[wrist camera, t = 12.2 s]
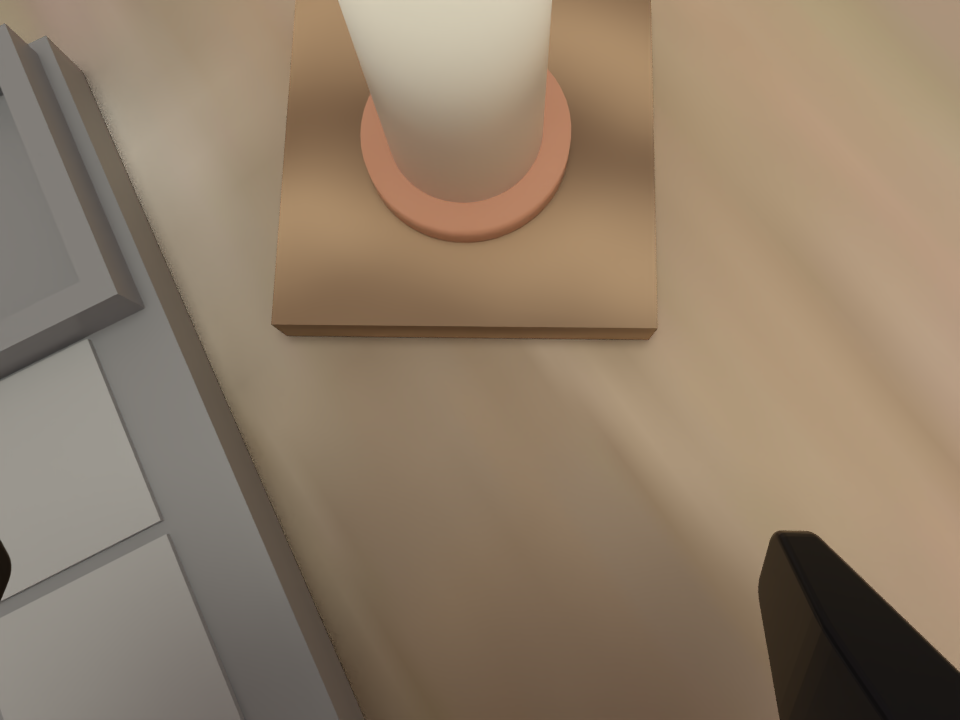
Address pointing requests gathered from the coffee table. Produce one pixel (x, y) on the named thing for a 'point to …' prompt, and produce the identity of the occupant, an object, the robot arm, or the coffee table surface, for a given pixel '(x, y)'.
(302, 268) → the walnut board
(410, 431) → the coffee table surface
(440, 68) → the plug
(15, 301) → the grey boxy piece
